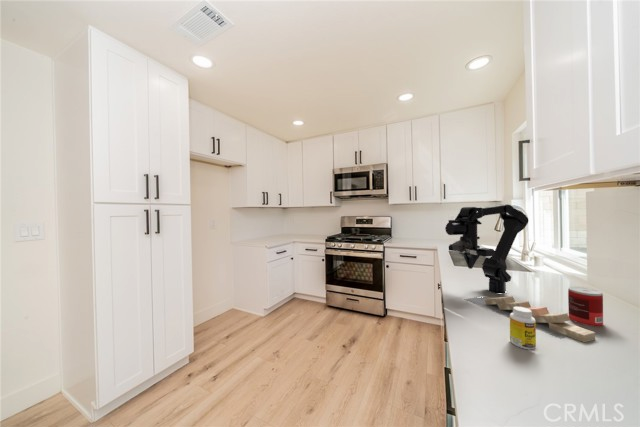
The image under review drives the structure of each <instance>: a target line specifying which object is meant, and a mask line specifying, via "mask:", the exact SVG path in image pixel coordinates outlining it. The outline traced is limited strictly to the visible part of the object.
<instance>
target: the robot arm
mask: <svg viewBox="0 0 640 427" xmlns="http://www.w3.org/2000/svg"><path fill="white" fill-rule="evenodd" d="M491 215H499V217H500V219H501V220H503V222H502V224H503V225H502V226H503V228H504V229H503V232H502V234H501V237H500V239H499V240H498V243H497V245H496V247H495V249H494V248H487V247H482V248H481V247H480V245H478V240H480V238H481V237H480V236H478V225H482V222H481V221H480V220H479V219H482V218H483V217H485V216H491ZM528 224H529V217H527V215H526V214H524V213H523V212H522V211H521V210H518V209H517V208H514V207H513V205H511V204H507V203H505V204H498V205H491V206H490V205H489V206H483V207H480V206H464V207H461V208H460V211H459V212H458V214H457V216H456V217H455V219H449V220H448V223H446V225H445V228H444V229H445V232H446V234H447V235H448V236H459V240H456V241H455V242H453V243H452V244H450V243H449V245H448V251H452V252H458V254H460V255H461V256H462V257H463V258H464V260H465V262H466V265H467V267H468V269H470V270H471V269H473V267H474V266H475V264H476V262H477V261H478V259H479V258H480V257H485V258H484V261H483V263H482V266H481V269H482V273H483V275H484V277H485V278H488V289H489V291H488V292H491V293H493V294H496V293H505V291H507V290H506V289H507V283H509V282H511V280H512V276H511V275H510V274H509V273H508V271H507V268H508V266H507V263H506V262H507V261H506V260H507V257H508V255H509V253H510V251H511V248H512V247H513V245H514V242H515V240H516V237H517V235H518V234H519V233H521V231H523V230H524V229H525V228H526V227H527V225H528Z"/></svg>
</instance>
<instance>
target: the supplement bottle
mask: <svg viewBox="0 0 640 427" xmlns="http://www.w3.org/2000/svg"><path fill="white" fill-rule="evenodd" d="M536 332H537V331H536V321H535V319H534V318H533V317H532V311H531V310H530V309H527V308H524V307H513V313H511V314H510V318H509V340H510V342H511V343H512V344H513V345H514V346H516V347H518V348H519V349H520V348H521V349H524V350H532V349H535V348H536V346H537V343H536V342H537V341H536V340H537V339H536V338H537V337H536V334H537V333H536Z"/></svg>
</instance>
